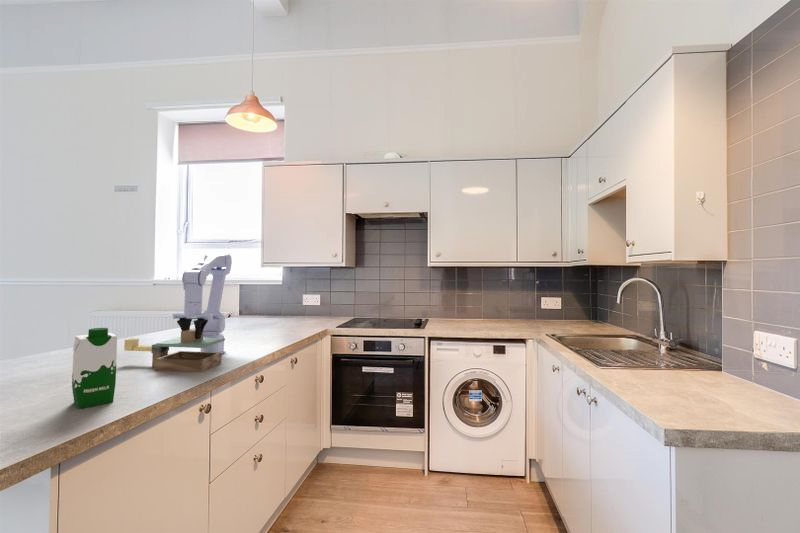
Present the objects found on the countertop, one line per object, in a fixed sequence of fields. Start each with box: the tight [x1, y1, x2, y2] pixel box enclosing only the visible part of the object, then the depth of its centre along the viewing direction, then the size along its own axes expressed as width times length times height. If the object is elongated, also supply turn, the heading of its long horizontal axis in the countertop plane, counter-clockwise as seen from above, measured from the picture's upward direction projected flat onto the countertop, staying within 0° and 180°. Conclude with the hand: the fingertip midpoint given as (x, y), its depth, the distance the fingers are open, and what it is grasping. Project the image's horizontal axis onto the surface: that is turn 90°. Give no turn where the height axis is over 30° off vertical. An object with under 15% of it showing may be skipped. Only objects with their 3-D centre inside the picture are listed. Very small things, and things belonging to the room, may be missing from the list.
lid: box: [155, 327, 226, 349], centre depth 133 cm, size 14×18×5 cm
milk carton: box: [71, 327, 118, 410], centre depth 97 cm, size 9×9×20 cm
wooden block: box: [123, 338, 163, 352], centre depth 134 cm, size 3×13×4 cm, turn 87°
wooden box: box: [151, 343, 222, 373], centre depth 133 cm, size 13×22×8 cm, turn 87°
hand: (192, 338), depth 133 cm, fingers closed on lid, 4 cm apart
